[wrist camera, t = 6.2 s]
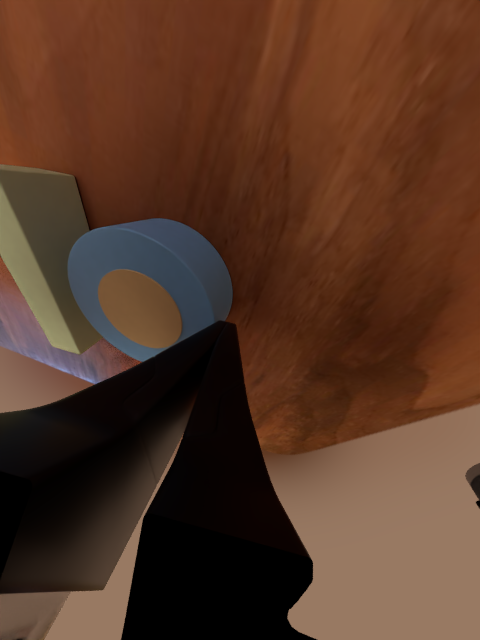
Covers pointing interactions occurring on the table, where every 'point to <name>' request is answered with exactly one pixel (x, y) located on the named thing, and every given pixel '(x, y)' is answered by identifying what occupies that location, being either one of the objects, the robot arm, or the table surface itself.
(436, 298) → the table surface
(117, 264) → the tape roll
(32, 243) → the stop block
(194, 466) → the robot arm
